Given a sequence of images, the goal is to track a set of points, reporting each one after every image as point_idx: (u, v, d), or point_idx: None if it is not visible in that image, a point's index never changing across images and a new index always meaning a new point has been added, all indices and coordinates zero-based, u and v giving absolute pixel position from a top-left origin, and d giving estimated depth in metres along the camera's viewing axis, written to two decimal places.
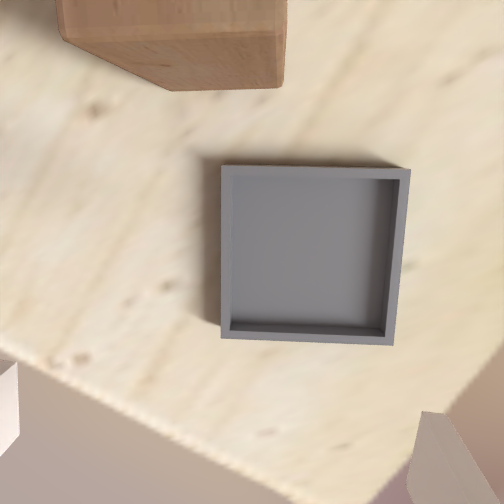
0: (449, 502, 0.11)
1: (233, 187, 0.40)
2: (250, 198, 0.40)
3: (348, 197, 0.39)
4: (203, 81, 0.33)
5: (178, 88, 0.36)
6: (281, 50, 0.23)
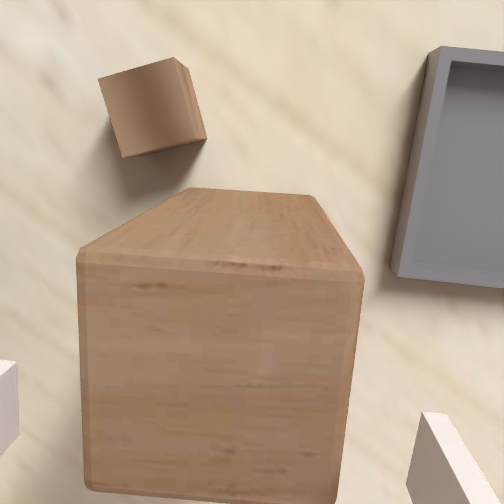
0: (449, 502, 0.11)
1: (419, 261, 0.34)
2: (435, 243, 0.34)
3: (455, 124, 0.32)
4: None
5: None
6: (345, 245, 0.19)
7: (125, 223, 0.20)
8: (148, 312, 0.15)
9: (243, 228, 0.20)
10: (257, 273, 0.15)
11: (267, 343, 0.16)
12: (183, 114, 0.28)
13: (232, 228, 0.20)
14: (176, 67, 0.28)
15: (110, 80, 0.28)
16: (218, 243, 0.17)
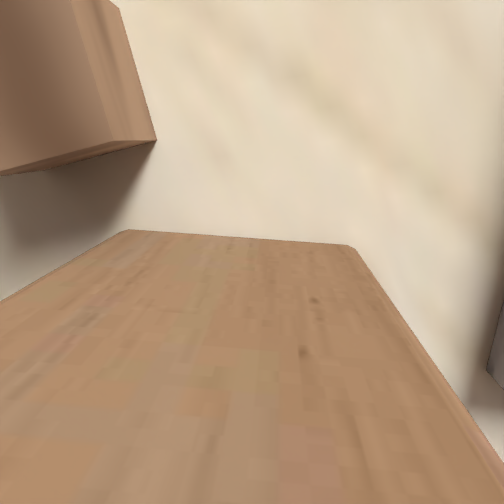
0: None
1: None
2: None
3: None
4: None
5: None
6: None
7: None
8: None
9: None
10: None
11: None
12: (85, 88, 0.13)
13: None
14: None
15: None
16: None
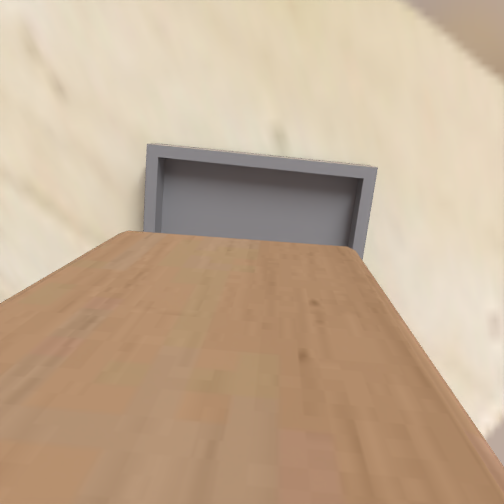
0: None
1: None
2: None
3: (186, 210, 0.33)
4: None
5: None
6: None
7: None
8: None
9: None
10: None
11: None
12: None
13: None
14: None
15: None
16: None
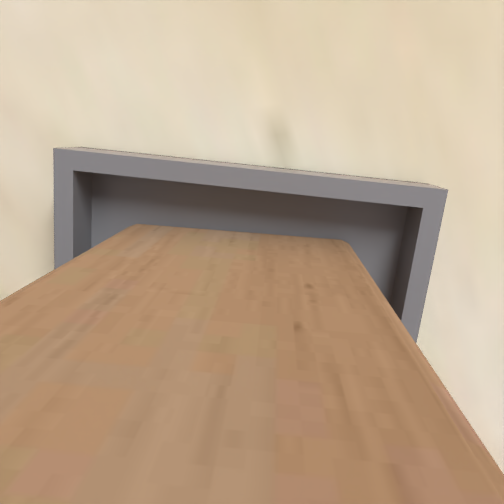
0: None
1: None
2: None
3: None
4: None
5: None
6: None
7: None
8: None
9: (178, 452, 0.06)
10: None
11: None
12: None
13: (139, 456, 0.06)
14: None
15: None
16: None
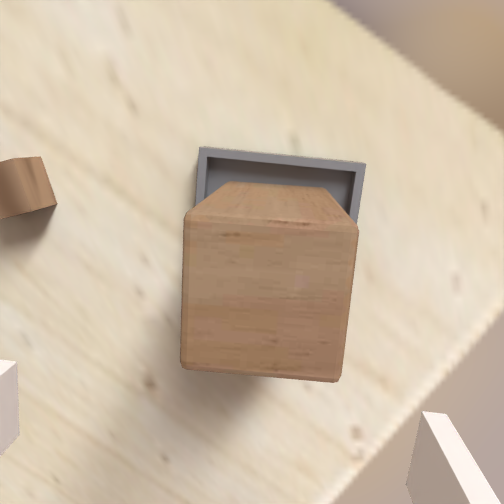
0: (449, 502, 0.11)
1: None
2: None
3: None
4: None
5: None
6: (348, 215, 0.29)
7: (201, 201, 0.30)
8: (227, 251, 0.26)
9: (280, 205, 0.30)
10: (294, 227, 0.25)
11: (299, 270, 0.26)
12: (22, 195, 0.42)
13: (273, 205, 0.30)
14: (16, 164, 0.41)
15: None
16: (267, 211, 0.27)
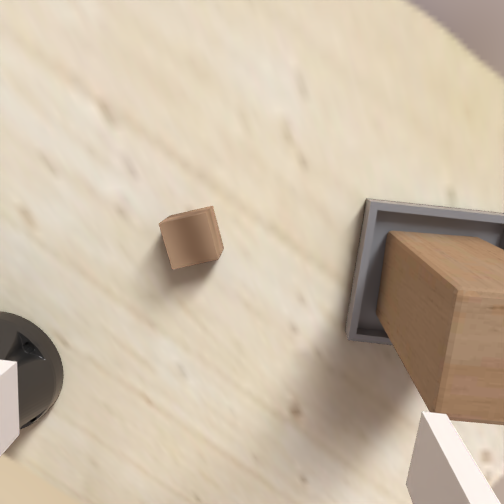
0: (449, 502, 0.11)
1: (364, 328, 0.52)
2: (374, 316, 0.51)
3: (384, 243, 0.49)
4: None
5: None
6: None
7: (434, 268, 0.34)
8: (492, 321, 0.30)
9: (503, 272, 0.34)
10: None
11: None
12: (210, 245, 0.46)
13: (498, 272, 0.34)
14: (207, 218, 0.46)
15: (166, 224, 0.46)
16: None
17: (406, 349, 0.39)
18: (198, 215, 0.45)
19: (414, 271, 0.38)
